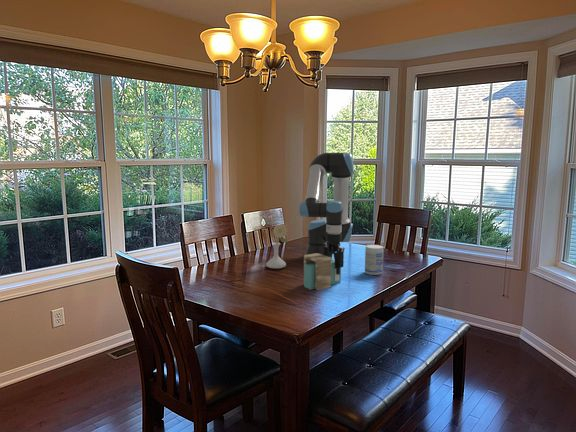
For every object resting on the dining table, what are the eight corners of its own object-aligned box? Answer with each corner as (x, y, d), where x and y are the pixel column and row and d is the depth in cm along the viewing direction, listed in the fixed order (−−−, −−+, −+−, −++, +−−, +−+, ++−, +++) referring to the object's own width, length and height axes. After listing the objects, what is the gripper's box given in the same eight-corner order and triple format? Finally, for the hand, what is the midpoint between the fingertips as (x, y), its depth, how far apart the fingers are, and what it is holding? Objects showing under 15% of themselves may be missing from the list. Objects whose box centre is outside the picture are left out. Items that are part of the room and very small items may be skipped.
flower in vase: (262, 268, 233) (261, 224, 229) (272, 263, 243) (272, 221, 239) (282, 271, 227) (282, 226, 223) (292, 266, 237) (292, 223, 233)
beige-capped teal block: (303, 286, 200) (304, 264, 199) (333, 280, 211) (334, 258, 209) (310, 289, 196) (310, 266, 195) (340, 282, 207) (341, 260, 205)
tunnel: (303, 285, 204) (303, 255, 202) (316, 282, 208) (316, 252, 206) (317, 291, 195) (317, 259, 193) (330, 288, 200) (331, 257, 197)
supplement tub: (379, 276, 219) (380, 249, 217) (362, 274, 223) (362, 247, 221) (384, 272, 227) (385, 245, 225) (368, 269, 232) (368, 243, 230)
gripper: (316, 230, 209) (315, 275, 212) (340, 236, 194) (339, 285, 198) (327, 229, 213) (326, 273, 217) (352, 235, 198) (351, 282, 202)
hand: (332, 278), depth 207 cm, fingers closed on beige-capped teal block, 5 cm apart
